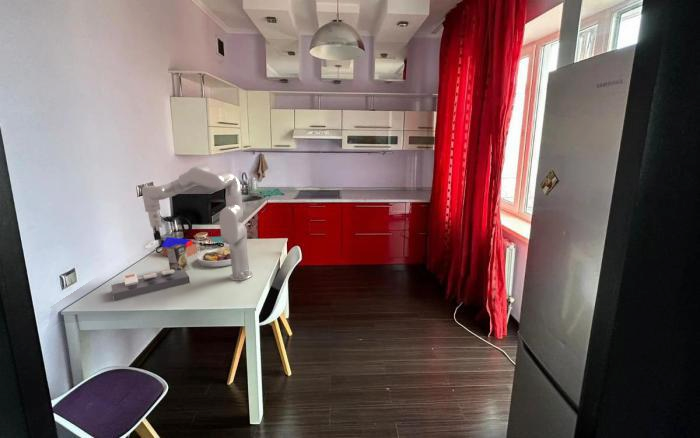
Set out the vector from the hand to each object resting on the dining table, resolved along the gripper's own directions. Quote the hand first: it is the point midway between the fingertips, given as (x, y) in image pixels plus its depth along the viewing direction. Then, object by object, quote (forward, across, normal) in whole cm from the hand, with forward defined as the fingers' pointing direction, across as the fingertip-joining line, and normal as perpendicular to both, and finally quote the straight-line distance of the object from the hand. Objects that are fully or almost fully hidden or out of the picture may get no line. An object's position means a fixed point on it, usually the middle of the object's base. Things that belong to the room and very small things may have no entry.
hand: (157, 239), depth 211 cm
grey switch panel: (+23, -13, +8) cm, 27 cm away
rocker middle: (+17, -11, +8) cm, 22 cm away
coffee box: (+23, +2, -9) cm, 25 cm away
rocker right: (+17, -11, -1) cm, 20 cm away
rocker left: (+17, -11, +17) cm, 26 cm away
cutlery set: (+23, +51, -41) cm, 69 cm away
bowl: (+23, +6, -36) cm, 44 cm away
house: (+23, +40, -17) cm, 49 cm away
